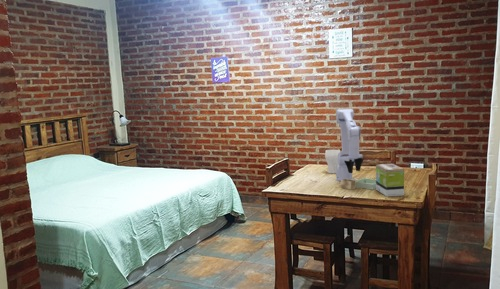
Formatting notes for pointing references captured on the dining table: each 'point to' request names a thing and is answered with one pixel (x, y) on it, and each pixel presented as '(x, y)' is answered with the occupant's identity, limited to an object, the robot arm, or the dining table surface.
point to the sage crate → (366, 183)
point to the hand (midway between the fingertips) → (354, 171)
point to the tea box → (390, 180)
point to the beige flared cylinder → (332, 160)
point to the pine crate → (348, 184)
